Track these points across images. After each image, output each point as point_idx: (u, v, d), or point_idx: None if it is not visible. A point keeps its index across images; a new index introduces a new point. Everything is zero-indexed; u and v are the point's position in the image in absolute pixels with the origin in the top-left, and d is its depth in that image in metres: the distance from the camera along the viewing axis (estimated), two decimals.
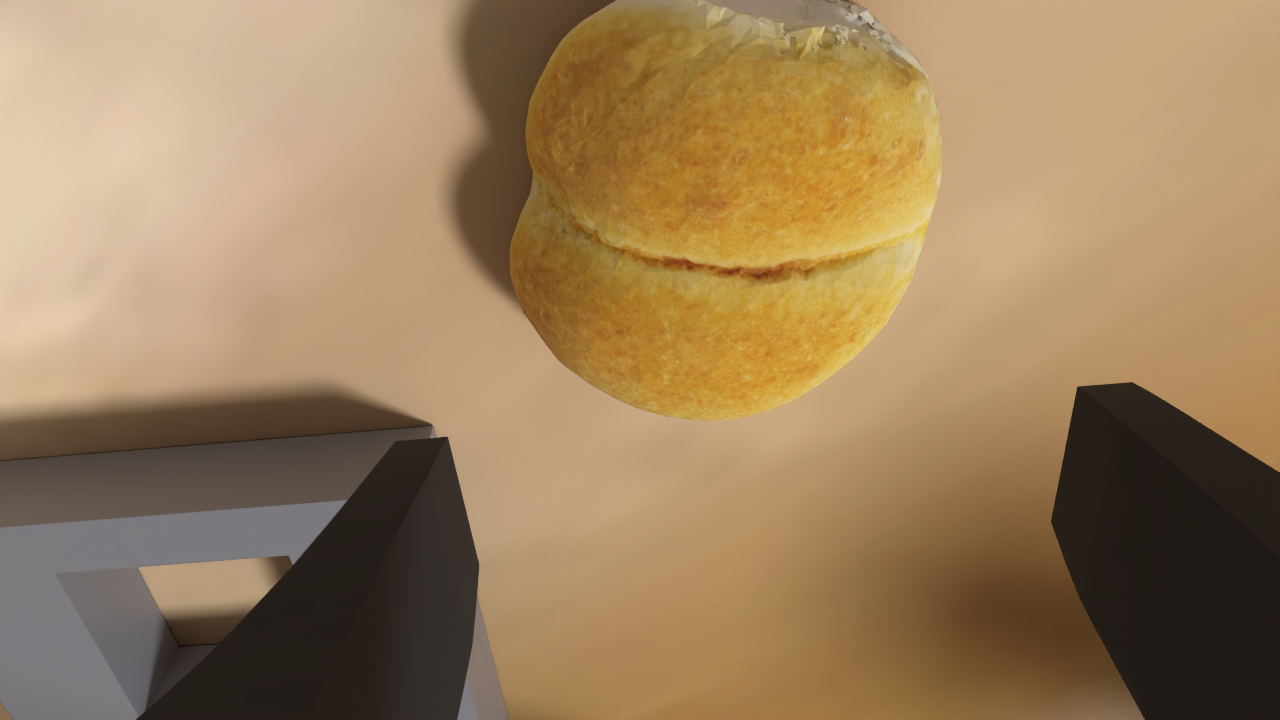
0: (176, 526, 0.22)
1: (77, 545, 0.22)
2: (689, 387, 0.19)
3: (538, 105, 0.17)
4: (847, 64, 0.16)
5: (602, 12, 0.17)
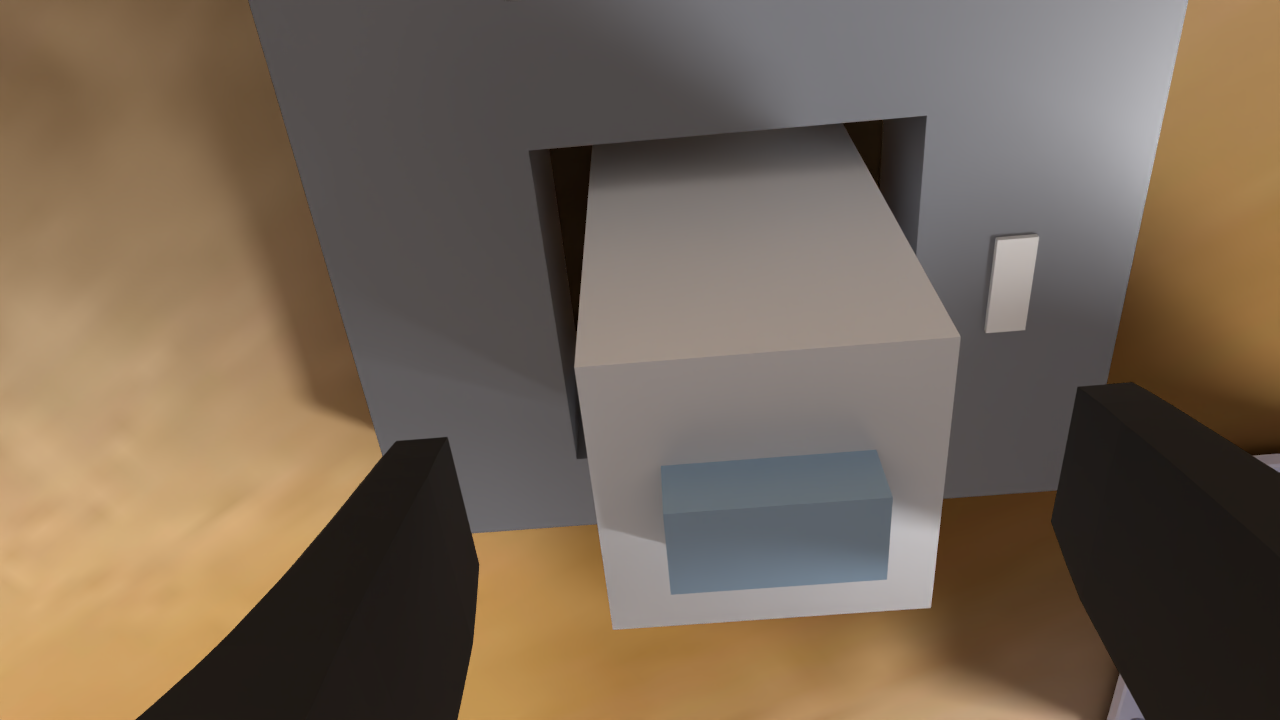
0: None
1: None
2: None
3: None
4: None
5: None
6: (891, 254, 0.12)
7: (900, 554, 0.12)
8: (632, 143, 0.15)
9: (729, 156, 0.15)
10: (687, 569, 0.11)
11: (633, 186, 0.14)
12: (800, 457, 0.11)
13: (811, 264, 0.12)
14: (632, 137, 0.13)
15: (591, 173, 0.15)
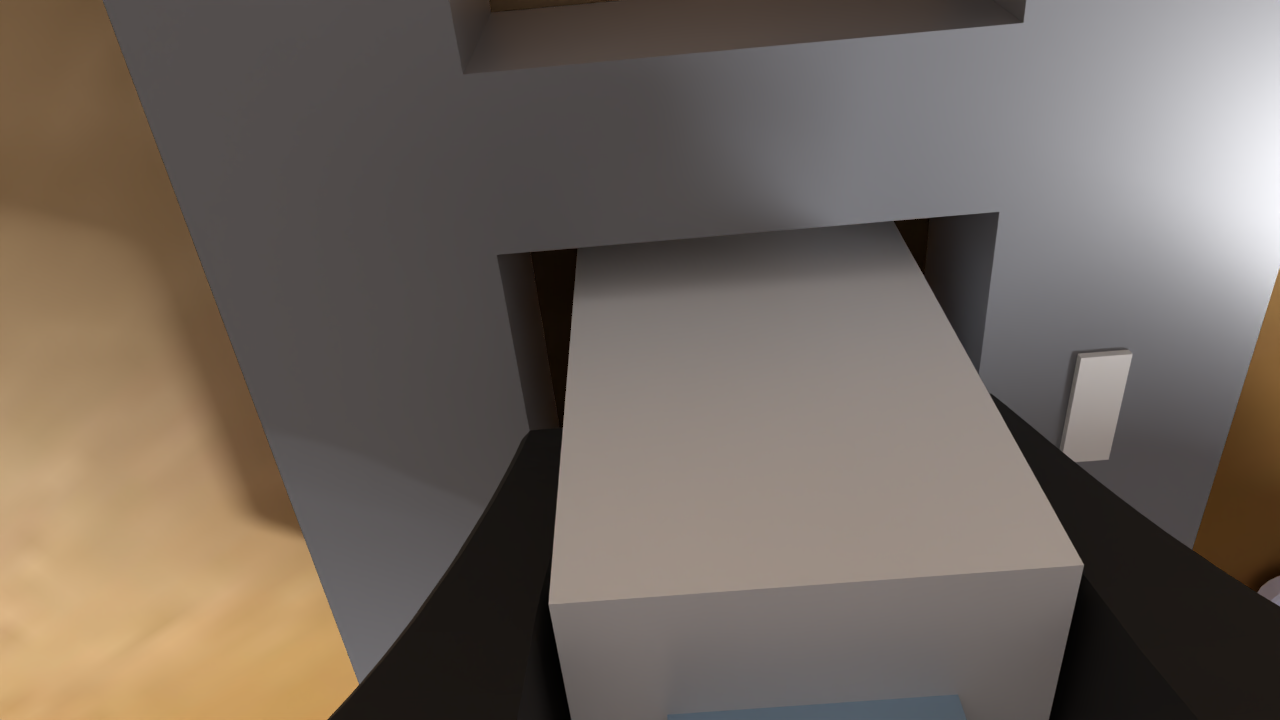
0: None
1: None
2: None
3: None
4: None
5: None
6: (969, 414, 0.09)
7: None
8: None
9: (747, 252, 0.12)
10: None
11: (627, 295, 0.11)
12: (854, 705, 0.08)
13: (863, 429, 0.09)
14: (627, 239, 0.11)
15: (577, 274, 0.12)
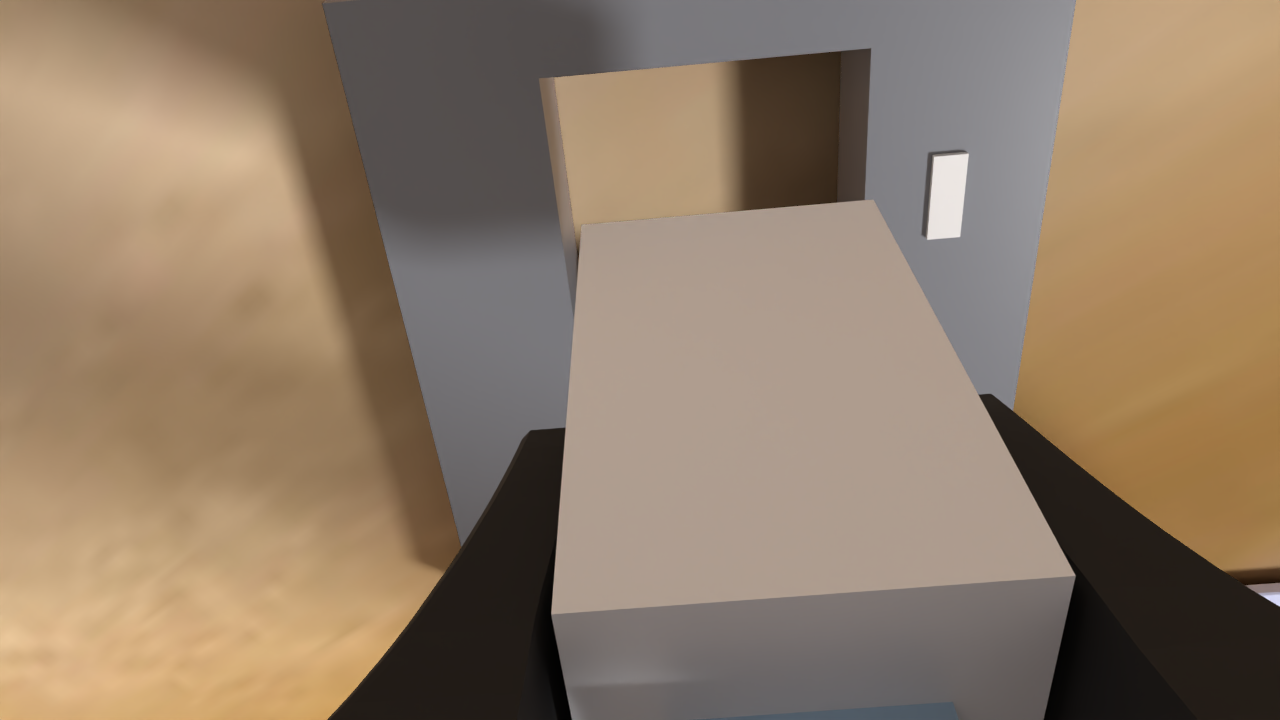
0: None
1: (585, 24, 0.16)
2: None
3: None
4: None
5: None
6: (964, 426, 0.09)
7: None
8: (628, 240, 0.13)
9: (746, 263, 0.12)
10: None
11: (628, 305, 0.11)
12: (852, 712, 0.08)
13: (859, 440, 0.09)
14: None
15: (578, 284, 0.12)
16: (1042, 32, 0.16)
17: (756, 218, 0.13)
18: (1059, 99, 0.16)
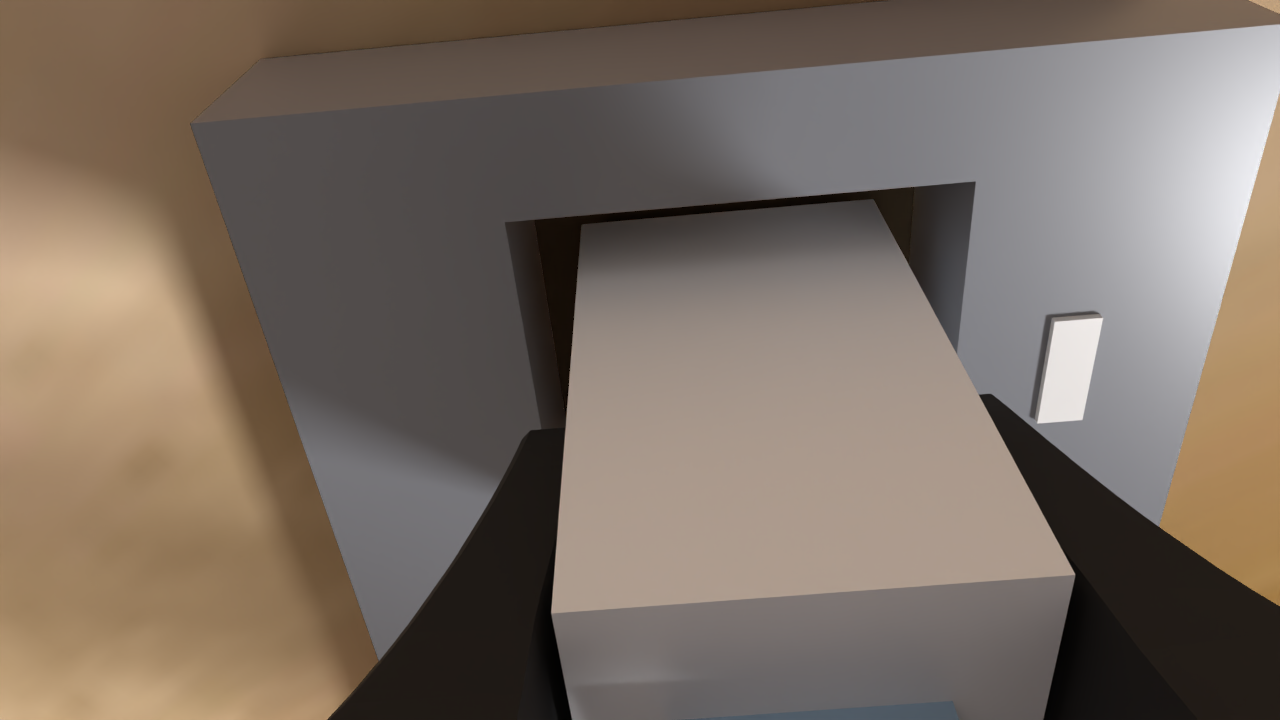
0: (782, 103, 0.11)
1: (570, 151, 0.11)
2: None
3: None
4: None
5: None
6: (964, 425, 0.09)
7: None
8: (628, 239, 0.13)
9: (746, 262, 0.12)
10: None
11: (628, 304, 0.11)
12: (853, 711, 0.08)
13: (860, 440, 0.09)
14: None
15: (578, 284, 0.12)
16: (1220, 159, 0.11)
17: (756, 217, 0.13)
18: (1233, 247, 0.12)
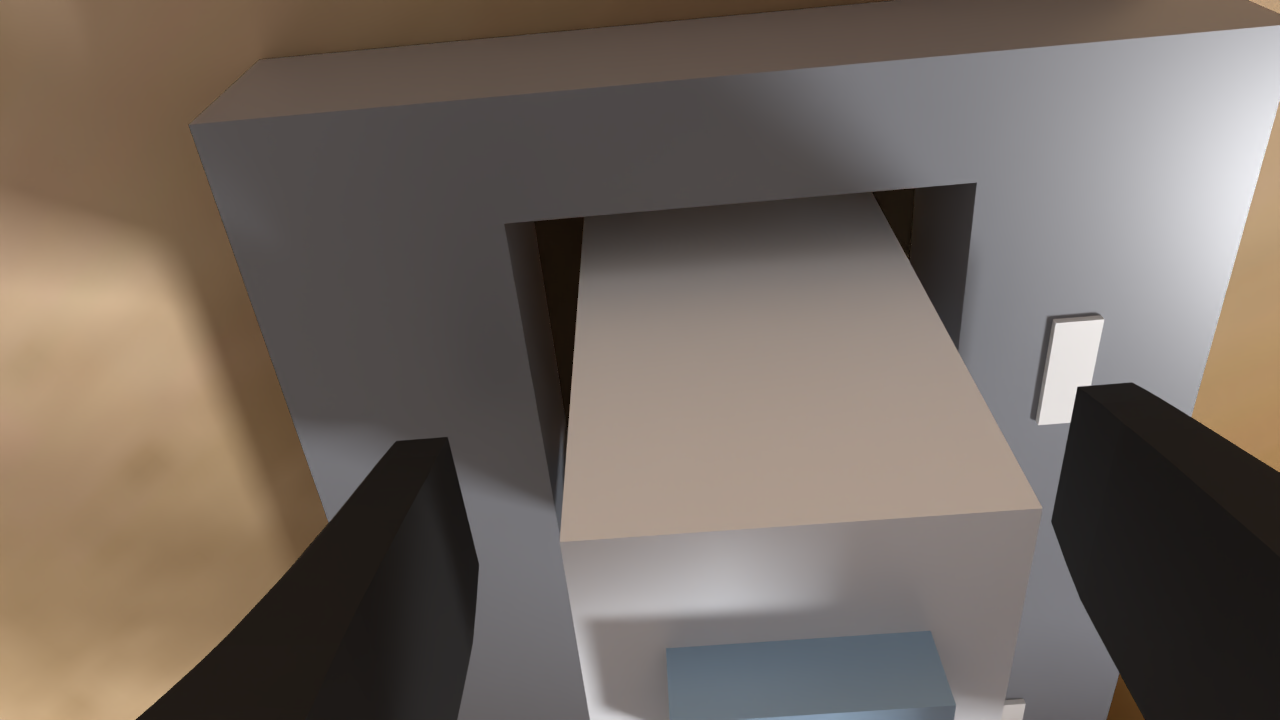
0: (782, 104, 0.11)
1: (569, 152, 0.11)
2: None
3: None
4: None
5: None
6: (944, 379, 0.10)
7: None
8: (630, 214, 0.13)
9: (742, 234, 0.13)
10: None
11: (630, 272, 0.12)
12: (836, 640, 0.09)
13: (847, 392, 0.10)
14: None
15: (583, 254, 0.13)
16: (1221, 160, 0.11)
17: None
18: (1234, 248, 0.12)
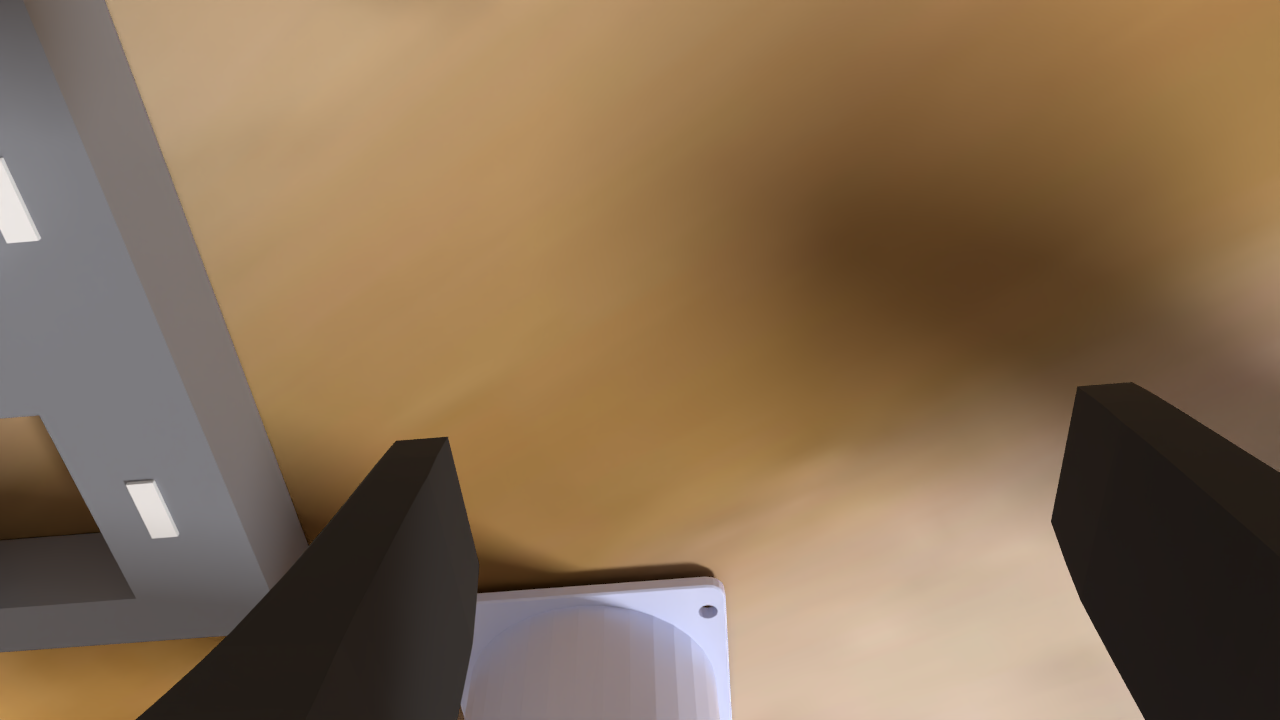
0: None
1: None
2: None
3: None
4: None
5: None
6: None
7: None
8: None
9: None
10: None
11: None
12: None
13: None
14: None
15: None
16: (11, 40, 0.16)
17: None
18: (69, 106, 0.17)
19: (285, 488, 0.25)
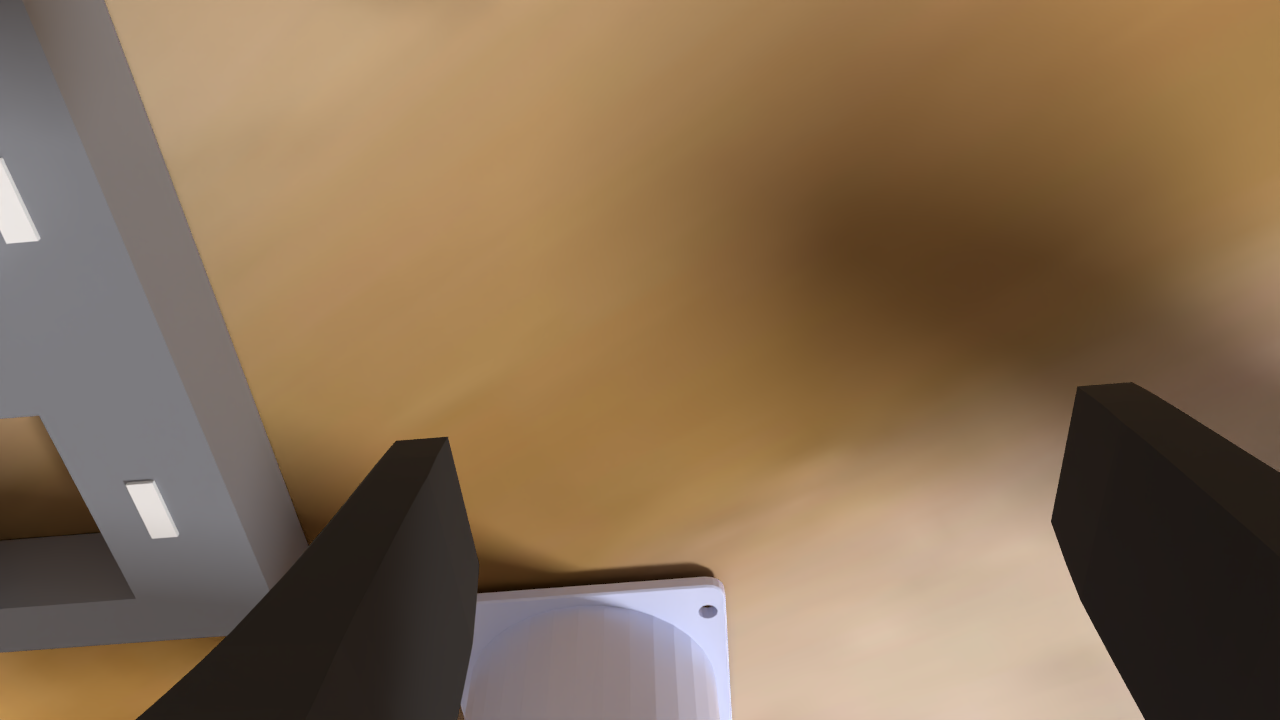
0: None
1: None
2: None
3: None
4: None
5: None
6: None
7: None
8: None
9: None
10: None
11: None
12: None
13: None
14: None
15: None
16: (10, 40, 0.16)
17: None
18: (68, 107, 0.17)
19: (285, 488, 0.25)
